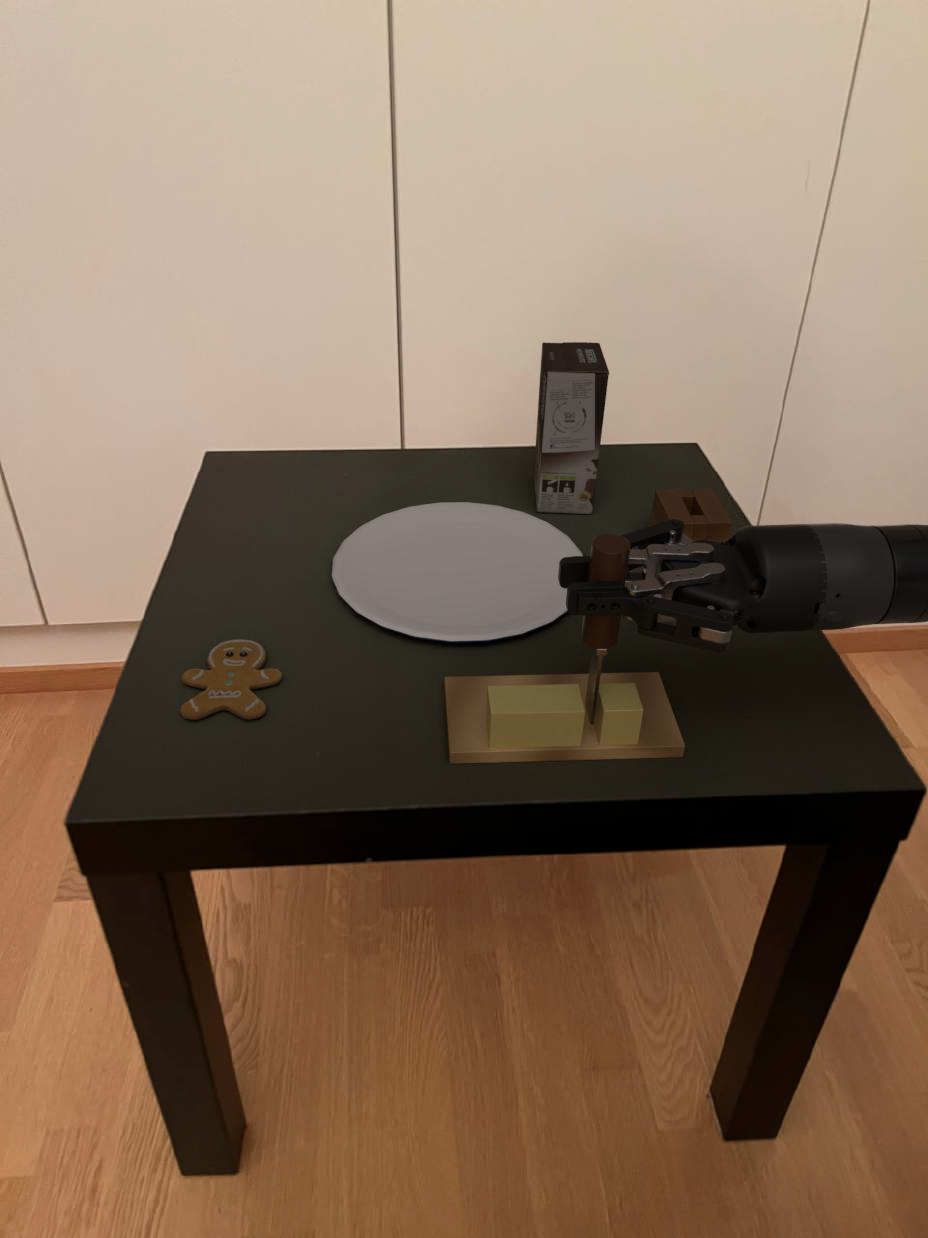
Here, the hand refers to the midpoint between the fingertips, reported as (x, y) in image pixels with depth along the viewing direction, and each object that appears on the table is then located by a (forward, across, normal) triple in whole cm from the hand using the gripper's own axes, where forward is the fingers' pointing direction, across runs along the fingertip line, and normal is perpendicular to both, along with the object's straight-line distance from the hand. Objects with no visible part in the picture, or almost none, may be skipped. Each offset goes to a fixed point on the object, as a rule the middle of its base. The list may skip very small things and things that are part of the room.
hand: (564, 586), depth 65 cm
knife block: (-18, -27, +15) cm, 36 cm away
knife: (-3, 0, +12) cm, 12 cm away
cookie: (+25, -9, +15) cm, 31 cm away
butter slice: (-5, 0, +14) cm, 14 cm away
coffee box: (-8, -40, +15) cm, 44 cm away
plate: (+5, -25, +15) cm, 29 cm away
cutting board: (-1, -2, +15) cm, 15 cm away
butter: (+1, 0, +14) cm, 14 cm away
